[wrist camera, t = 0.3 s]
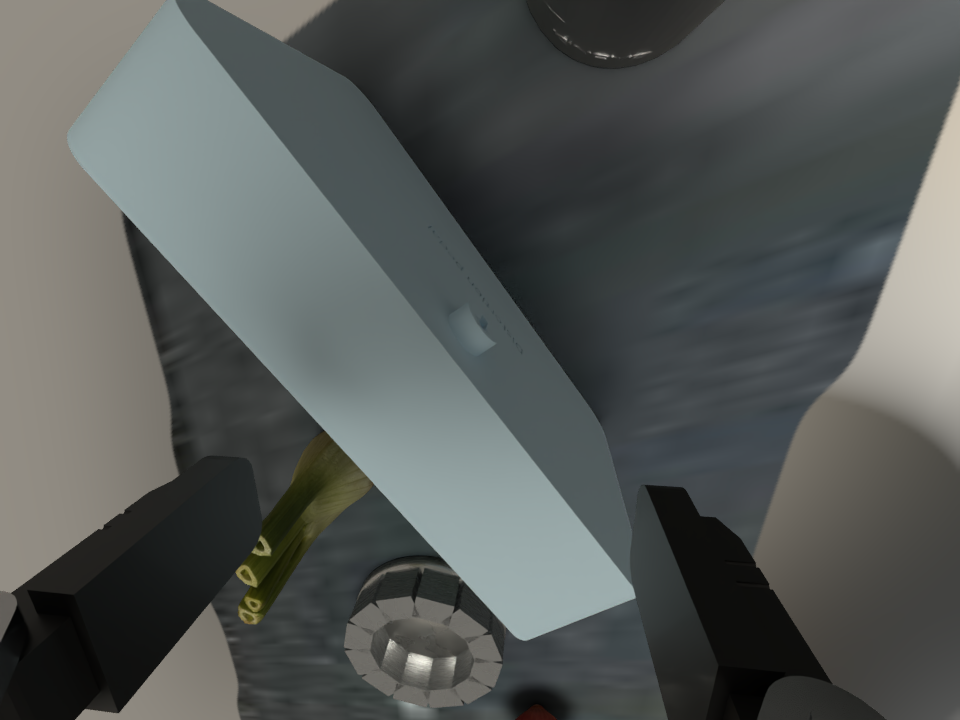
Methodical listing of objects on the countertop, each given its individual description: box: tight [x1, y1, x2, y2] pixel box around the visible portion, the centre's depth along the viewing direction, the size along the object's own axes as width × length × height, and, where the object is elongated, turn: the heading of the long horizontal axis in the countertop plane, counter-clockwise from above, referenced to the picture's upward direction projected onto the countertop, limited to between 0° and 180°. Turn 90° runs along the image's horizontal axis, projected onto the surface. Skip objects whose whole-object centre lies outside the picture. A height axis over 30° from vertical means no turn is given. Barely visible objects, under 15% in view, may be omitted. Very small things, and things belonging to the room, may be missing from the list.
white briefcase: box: [67, 0, 636, 641], centre depth 20 cm, size 23×6×13 cm, turn 37°
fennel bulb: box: [236, 431, 374, 624], centre depth 25 cm, size 6×5×12 cm
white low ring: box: [344, 556, 506, 708], centre depth 34 cm, size 12×12×4 cm
